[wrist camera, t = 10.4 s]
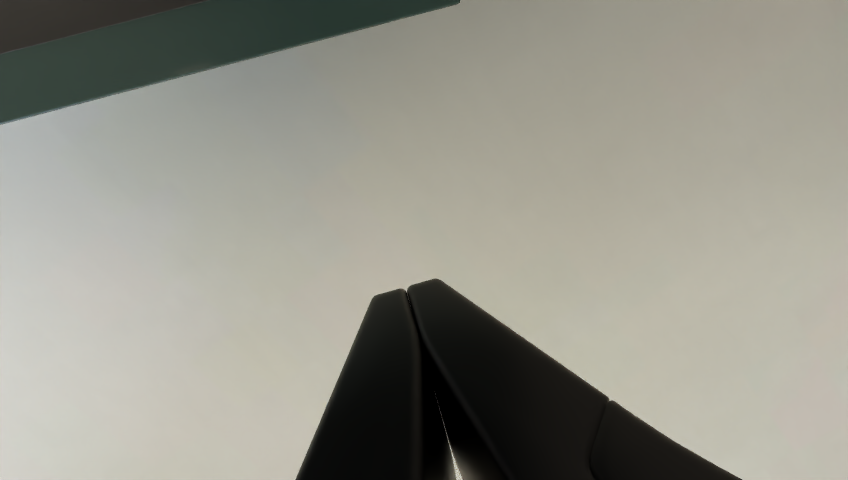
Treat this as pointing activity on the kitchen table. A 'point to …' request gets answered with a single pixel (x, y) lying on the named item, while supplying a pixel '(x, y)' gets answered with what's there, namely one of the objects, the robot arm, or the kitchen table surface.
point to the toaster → (157, 41)
